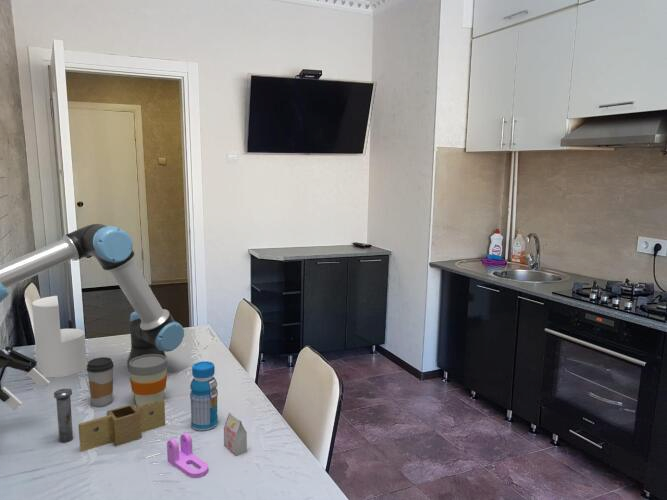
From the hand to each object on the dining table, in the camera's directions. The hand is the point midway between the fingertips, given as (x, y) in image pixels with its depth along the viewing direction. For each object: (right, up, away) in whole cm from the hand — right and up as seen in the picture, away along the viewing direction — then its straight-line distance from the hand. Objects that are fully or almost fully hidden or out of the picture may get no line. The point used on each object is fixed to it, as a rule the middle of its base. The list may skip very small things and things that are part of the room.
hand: (33, 395), depth 144 cm
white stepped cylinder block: (-21, -5, +54) cm, 58 cm away
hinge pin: (+8, -14, +3) cm, 16 cm away
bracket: (+48, -17, -9) cm, 52 cm away
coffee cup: (+8, -10, +26) cm, 29 cm away
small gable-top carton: (+59, -16, 0) cm, 61 cm away
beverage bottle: (+47, -13, +13) cm, 50 cm away
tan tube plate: (+25, -14, +5) cm, 29 cm away
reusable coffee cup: (+24, -10, +27) cm, 38 cm away
